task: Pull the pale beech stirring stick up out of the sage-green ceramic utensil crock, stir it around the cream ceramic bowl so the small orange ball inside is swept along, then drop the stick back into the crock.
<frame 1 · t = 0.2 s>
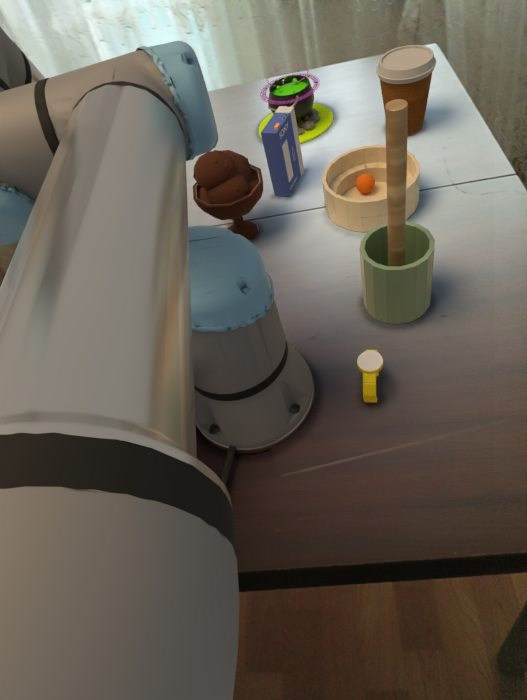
hand: (108, 189, 69), 15 cm above the table, tool tilted 35°, fingers open, 13 cm apart
ball: (365, 183, 79), point 2 cm above the table, touching mixing bowl
disposable coffee cup: (405, 128, 90), on the table
stick: (396, 299, 65), point 1 cm above the table, touching crock
mixing bowl: (371, 205, 79), on the table
crock: (396, 302, 66), on the table
watch: (372, 389, 59), on the table
toy cauldron: (295, 125, 99), on the table
walkman: (289, 184, 87), on the table
ice cream bowl: (242, 234, 81), on the table
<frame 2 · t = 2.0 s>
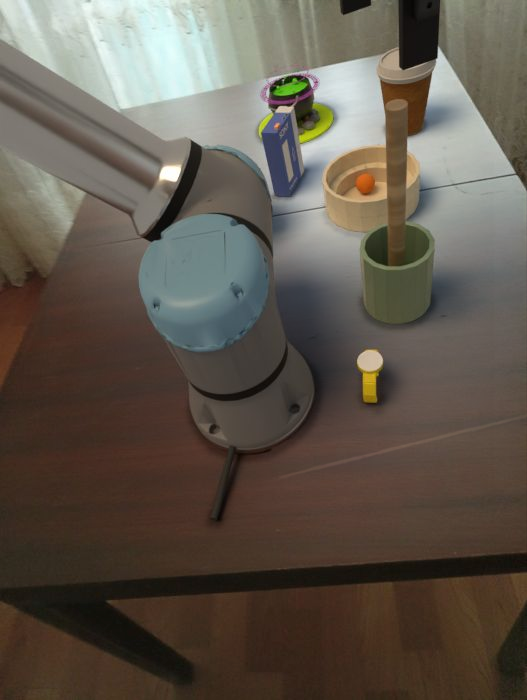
hand: (383, 33, 42), 32 cm above the table, tool pointing down, fingers open, 13 cm apart
nothing on the table moved.
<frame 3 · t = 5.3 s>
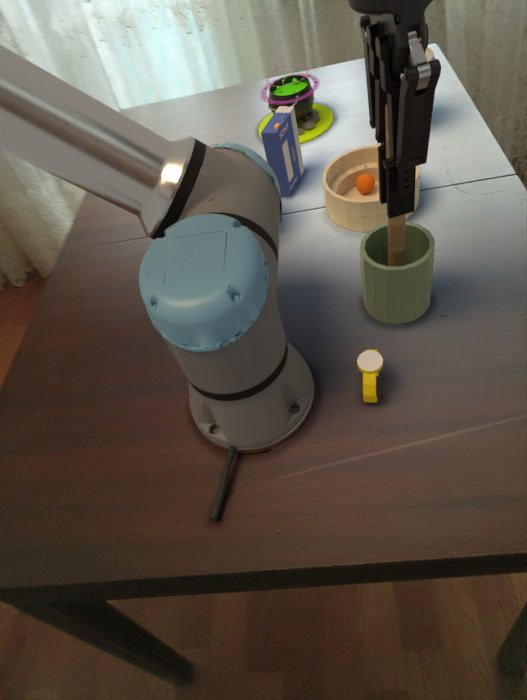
hand: (396, 205, 54), 15 cm above the table, tool pointing down, fingers closed on stick, 2 cm apart
stick: (396, 299, 65), point 1 cm above the table, touching crock, gripper
everything else where it was.
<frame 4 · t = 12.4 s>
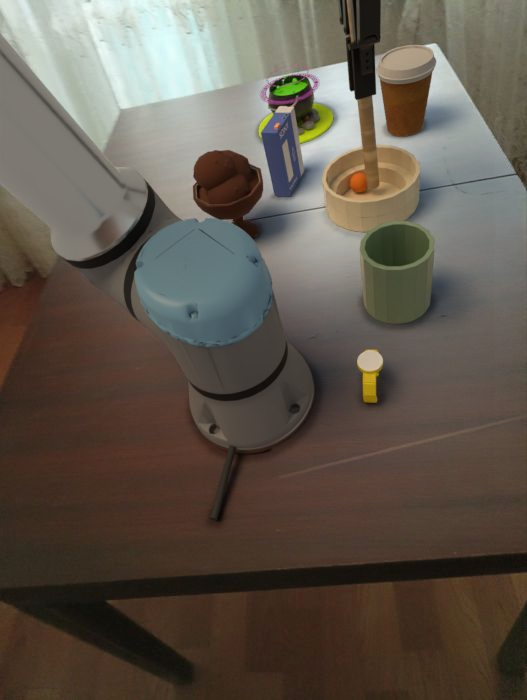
hand: (362, 91, 67), 17 cm above the table, tool pointing down, fingers closed on stick, 2 cm apart
ball: (359, 182, 80), point 2 cm above the table, tilted 37°, touching mixing bowl, stick
stick: (373, 185, 78), point 2 cm above the table, touching ball, gripper
everything else where it was.
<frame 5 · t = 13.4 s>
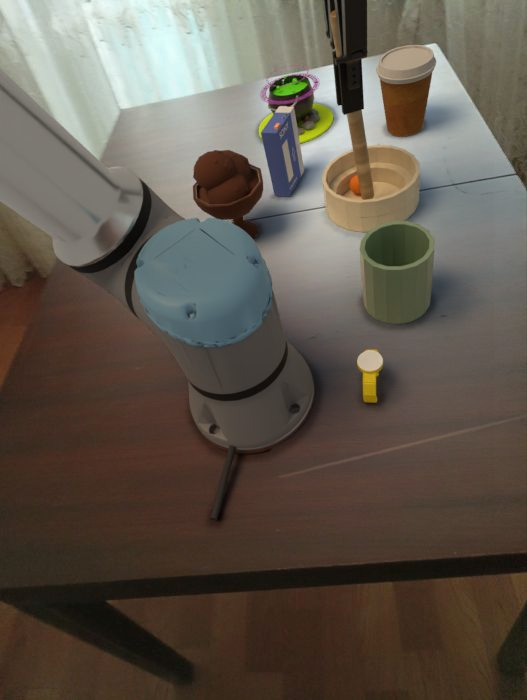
hand: (350, 105, 66), 17 cm above the table, tool pointing down, fingers closed on stick, 2 cm apart
ball: (359, 184, 79), point 2 cm above the table, tilted 27°, touching mixing bowl
stick: (367, 196, 77), point 2 cm above the table, tilted 5°, touching gripper
everything else where it was.
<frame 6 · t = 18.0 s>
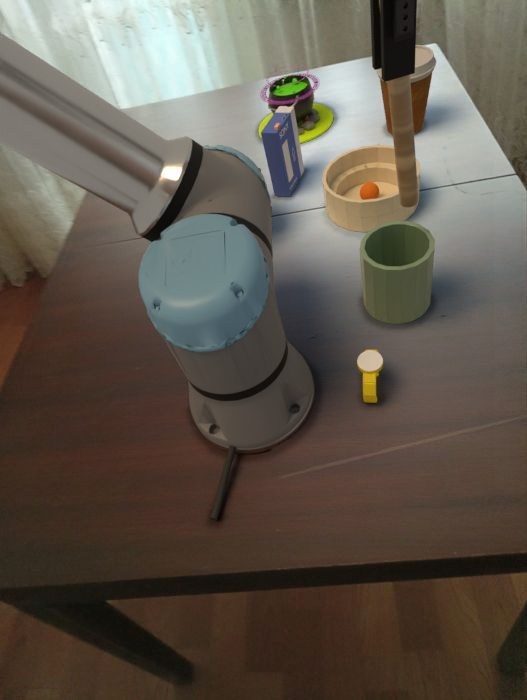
hand: (393, 69, 44), 29 cm above the table, tool pointing down, fingers closed on stick, 2 cm apart
ball: (369, 192, 77), point 2 cm above the table, tilted 88°, touching mixing bowl
stick: (409, 201, 56), point 14 cm above the table, tilted 5°, touching gripper
everything else where it was.
when the fingers open (15 cm above the table, at t = 21.9 s): stick stays where it is and tips over, resting on crock.
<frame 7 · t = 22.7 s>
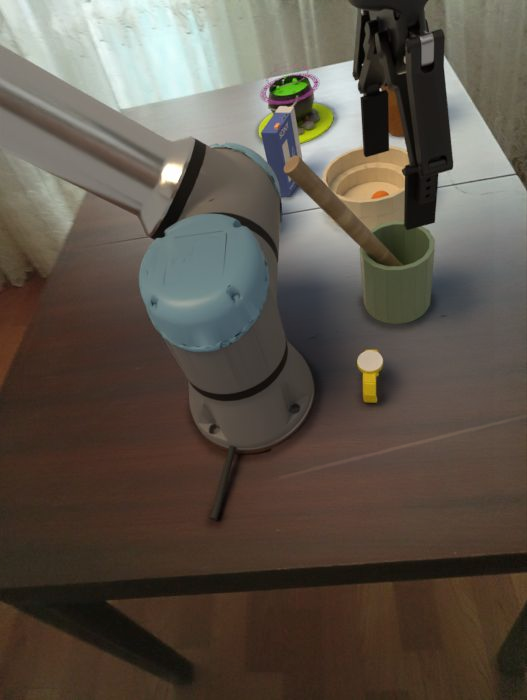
hand: (396, 185, 52), 18 cm above the table, tool pointing down, fingers open, 13 cm apart
ball: (380, 201, 76), point 2 cm above the table, tilted 155°, touching mixing bowl
stick: (417, 291, 65), point 1 cm above the table, tilted 30°, touching crock
everything else where it was.
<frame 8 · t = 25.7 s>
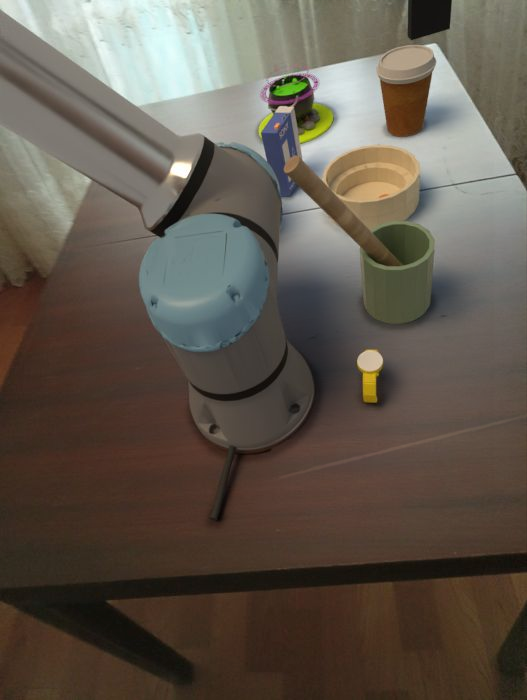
hand: (396, 2, 39), 35 cm above the table, tool pointing down, fingers open, 13 cm apart
ball: (385, 204, 75), point 2 cm above the table, tilted 112°, touching mixing bowl
everything else where it was.
at the end: ball moved 6.6 cm from its start; ball inside the target area in the mixing bowl (3.7 cm from its centre), point 2.1 cm above the mixing bowl's base; stick 2.7 cm off-centre in the crock, point 1.1 cm above the crock's base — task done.
